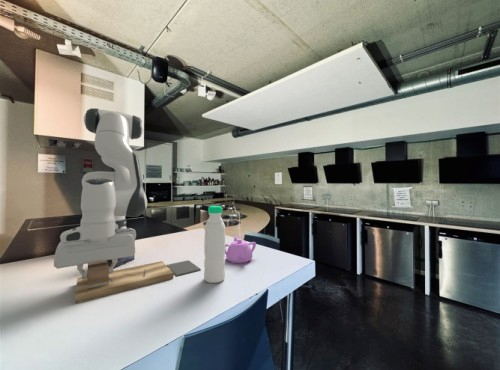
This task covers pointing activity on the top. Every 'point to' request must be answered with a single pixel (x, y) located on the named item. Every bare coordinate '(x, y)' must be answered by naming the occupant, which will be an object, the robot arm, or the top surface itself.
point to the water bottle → (214, 246)
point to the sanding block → (98, 274)
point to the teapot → (239, 251)
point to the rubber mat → (183, 268)
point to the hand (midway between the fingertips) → (97, 275)
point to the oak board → (124, 281)
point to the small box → (121, 260)
